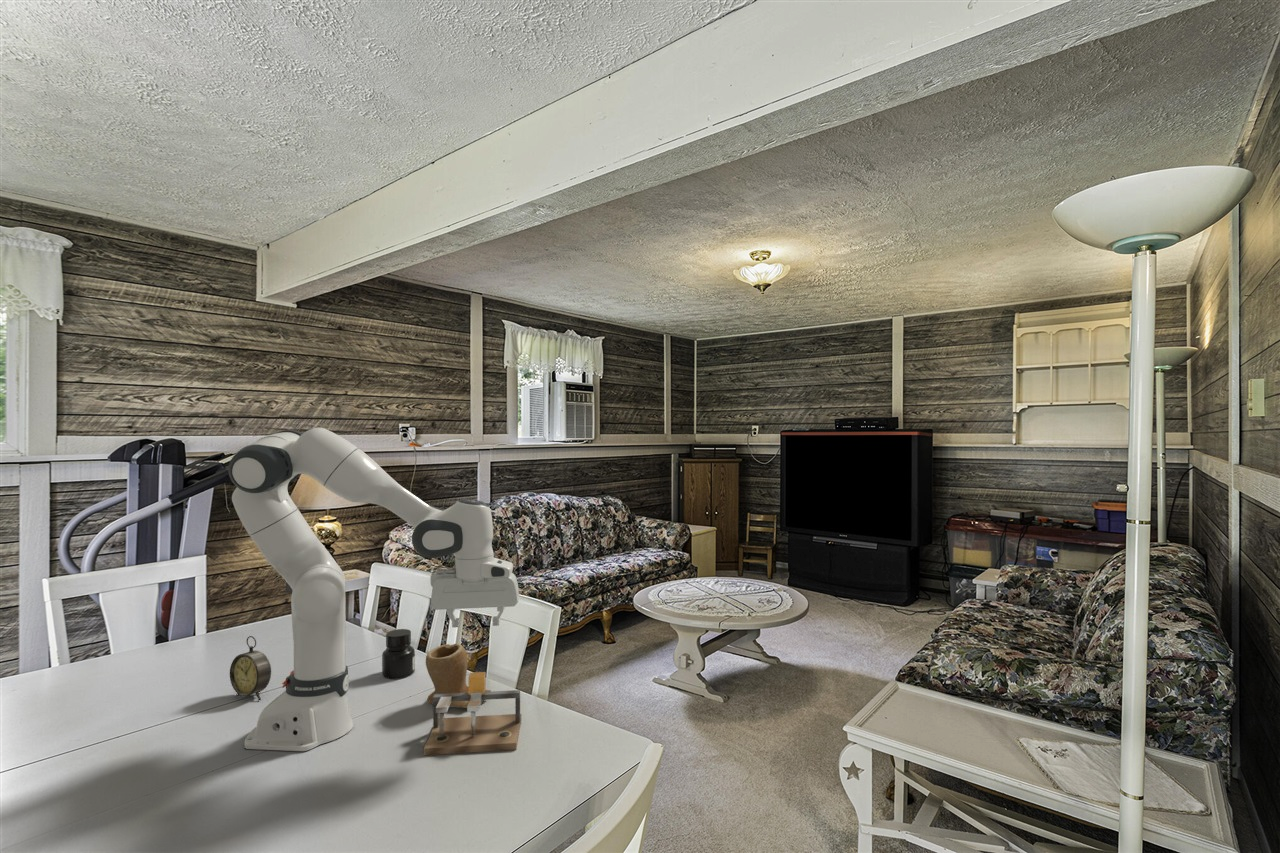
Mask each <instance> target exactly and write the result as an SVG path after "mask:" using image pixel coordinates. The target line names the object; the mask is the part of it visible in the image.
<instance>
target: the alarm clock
mask: <svg viewBox="0 0 1280 853" xmlns="http://www.w3.org/2000/svg"><path fill="white" fill-rule="evenodd" d="M250 638H251V639H253V640H254V646H252V645H251V646H250V645H249V639H250ZM246 645H247V647H248V649H249V650H248V652H244V653H240V654H238V655H236V656H235V658H234V659H233V660H232V662H231V663H230V668H229V682H230V684H231V686H232V689H233V691H234V692H236V693H235V694H236V695H235V696H237V694H239V695H238V696H241V697H249V696H251V695H255V696H256V698H257V700H258V701H261V696H260V693H261V692H262V691H263V690H265V689H266V688H267V686H268V685H269V683H270V680H271V677H272V666H271V663H270V660H269V658H268V657H267V655H266V654H264V653H263V652H262V651H259V650H254V648H256V647H257V639H256V638H255V637H254V636H253V635H249V636H248V637H247V638H246ZM259 692H260V693H259Z"/></svg>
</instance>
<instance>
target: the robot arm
mask: <svg viewBox="0 0 1280 853" xmlns="http://www.w3.org/2000/svg"><path fill="white" fill-rule="evenodd" d="M227 468H228V470H227V471H228V472H227V473H228V476H229V478H230V480H231V482H232V483H233V485H234V486H235V487H236V488H235V489H234V491H233V492H232V495H231V501H232V504H233V507H234V509H235V512H236V514H237V516H238V518H239V520H240V522H241V524H242V526H243V528H244V529H245V531H246V532H247V534H248V535H249V537H250V538H251V540H252V541H253V543H254V544H255V546H256V547H257V548H258V550H259V552H260V553H261V554H262V556H263V557H264V559H265V560H266V562H267V563H268V565H270V566H271V567H272V568H273V569H274V570H276V572H277V573H278V574H279V575H280V576H281V577H282V579H283V580H285V582H286V583H287V584H288V586H289V587H290V588H291V590H292V592H291V598H290V607H291V624H292V625H291V626H292V628H291V629H292V639H293V640H292V641H293V670H292V671H291V672H290V673H289V675H288V676H286V678H285V680H283V682H282V683H281V685H282V687H281V688H282V689H284V688H285V690H284V691H283V692H282V693H280V695H278V696H277V697H276V698H274V699H273V700H272V701H271V702H269V703H268V704H267V705H266V706H265V707H264V708H263V710H261V713H260V714H259V716H258V719H257V722H256V727H254V728H253V729H252V730H251V731H250V732H249V733H248V734H247V736H246V737H245V739H244V744H243V747H244V749H245V748H246V750H267V751H286V752H287V751H288V752H289V751H290V752H292V751H293V752H306V751H310V750H312V749H314V748H316V747H317V746H319V745H322V744H326V743H329V742H332V741H335V740H337V739H339V738H341V737H343V736H344V735H346V734H348V733H349V732H350V731H351V730H352V729H353V728H354V725H355V722H354V719H353V716H352V714H351V709H350V708H351V707H350V704H349V697H348V691H349V684H350V683H349V681H350V679H349V678H350V677H349V676H350V675H349V668H348V665H347V635H346V634H347V630H346V628H347V626H346V625H347V624H346V623H347V622H346V590H347V589H346V581H347V580H346V575H345V573H344V571H343V570H342V568H341V567H340V565H339V564H338V563H337V561H336V560H335V559H334V557H333V556H332V555H331V553H330V552H329V550H328V549H327V548H326V547H325V546H324V545H323V543H322V542H321V541H320V539H319V538H318V537H317V535H316V534H315V532H314V531H313V529H312V528H311V526H310V525H309V523H308V522H307V520H306V519H305V517H304V516H303V514H302V513H301V511H300V509H299V508H298V506H297V505H296V504H295V502H294V501H293V499H292V498H291V496H290V494H289V492H288V490H289V489H288V486H289V483H290V482H295V481H296V480H297V479H298V478H299V477H300V476H301V475H306V476H309V477H310V478H312V479H313V480H315V481H316V482H318V483H319V484H321V486H323V487H325V488H326V489H327V490H328V491H330V492H332V493H333V494H334V495H336V496H338V497H339V498H342V499H345V500H347V501H349V502H351V503H363V504H373V505H377V506H379V507H383V508H385V509H387V510H388V511H390V512H392V513H393V514H395V515H396V516H398V517H399V518H400V519H401V520H403V521H404V522H406V523H408V524H409V525H411V526H412V527H413V528H414V530H413V531H412V534H411V544H412V547H413V549H414V550H415V551H416V553H417V554H418V555H420V556H422V557H423V558H426V559H437V558H441V557H446V556H450V555H453V554H454V557H455V558H454V562H455V564H454V565H455V567H454V568H445V569H443V568H437V569H436V570H434V571H433V572H432V573H431V575H430V579H429V581H430V586H431V588H432V589H431V597H430V599H431V600H430V606H431V608H432V609H434V610H435V611H437V610H446V614H447V617H448V618H449V619H450V621H451V626H452V628H459V627H460V626H461V622H460V621H461V618H460V617H457V616H456V614H455V611H456V610H459V609H460V610H461V609H482V608H483V609H486V608H489V609H490V608H496V610H497V611H496V612H498V614H497V615H496V616H493V617H492V626H494V627H495V626H496V627H497V626H498V627H499V626H500V625H501V616H502V614H503V613H504V610H505V607H506V608H507V607H509V608H510V607H515V606H517V604H518V603H519V601H520V590H519V583H518V579H517V576H516V575H515V573H514V571H513V570H514V564H513V562H511V561H508V560H504V559H501V558H496V557H494V556H495V554H494V550H493V544H492V542H493V538H494V527H493V526H494V524H493V523H494V522H493V515H492V510H491V508H490V506H489V505H488V504H487V503H485V502H484V501H481V500H477V499H470V498H469V499H459V500H457V501H456V502H455V503H454V504H452V505H451V506H449V507H448V508H446V509H445V508H442V507H437V506H433V505H431V504H429V503H427V502H425V501H424V500H423V499H422V498H420V497H419V496H417V495H416V494H414V493H412V492H411V491H410V490H408V489H407V488H406V487H404V486H403V485H402V484H400V483H398V482H397V481H396V480H395V479H394V478H393V477H391V475H389V473H387V472H386V470H384V469H383V468H382V467H381V466H380V465H379V464H378V463H377V462H376V460H374V459H373V458H371V457H370V456H369V455H368V454H367V453H365V452H364V451H363V450H362V449H360V448H359V447H357V445H355V444H354V443H352V442H350V441H349V440H347V439H346V438H344V437H343V436H340V435H339V434H338V433H334V432H333V431H331V430H328V429H327V428H324V427H314V428H310V429H308V430H306V431H305V432H301V431H298V430H293V429H292V430H291V429H288V430H280V431H278V432H276V433H273V434H269V435H267V436H264V437H260V439H257V440H256V441H255V442H253V443H251V444H250V445H246V446H244V447H243V448H241V449H240V450H238V451H237V452H236V453H234V455H233V456H232V457H231V459H230V461H229V464H228V466H227Z"/></svg>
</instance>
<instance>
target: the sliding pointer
mask: <svg viewBox="0 0 1280 853" xmlns="http://www.w3.org/2000/svg"><path fill="white" fill-rule="evenodd" d="M486 675H487V674H486V671H476V672H470V673H469V676H468V687H469V695H471V698H470V701H469V704H468V706H467V708H466V710H467V711H466V712H467V713H469V712H470V717H471V735H472V736H473V735H475V734H476V716H477V715H476V712H479V710H480V707H481V705H482V703H481V701H482V694H484V692H485V690H487V689H486V688H487V687H486V680H487V679H486V677H487V676H486Z"/></svg>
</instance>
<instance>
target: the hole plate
mask: <svg viewBox="0 0 1280 853" xmlns="http://www.w3.org/2000/svg"><path fill="white" fill-rule="evenodd" d="M470 698H471V695H469V693H453V694H435V695H434V697H433V703H432V715H433V716H432V718H433V719H432V720H433V721H432V722H433V723H432V725H433V728H432V730H431V732H430V734H429V736H428V739H427V741H426V744H424V748H423V756H434V755H435V756H436V755H449V754H450V755H451V754H464V753H465V754H467V753H482V752H483V753H484V752H498V751H512V750H513V751H515V750H517V749H518V743H519V742H518V741H519V737H520V731H519V730H521V725H522V713H521V690H520V689H515V690H498V691H497V690H495V691H492V690H491V692H484V694H482V700H485V701H487V700H505V699H506V700H507V699H515V707H514V708H515V713H512V714H511V713H510V714H495V715H494V714H493V715H476V734H475V735H473V736H472V735H471V716H457V717H445V714H447V713H448V710H449V708H450V704H451V702H452V701H470ZM520 724H521V725H520ZM518 736H519V737H518Z"/></svg>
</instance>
